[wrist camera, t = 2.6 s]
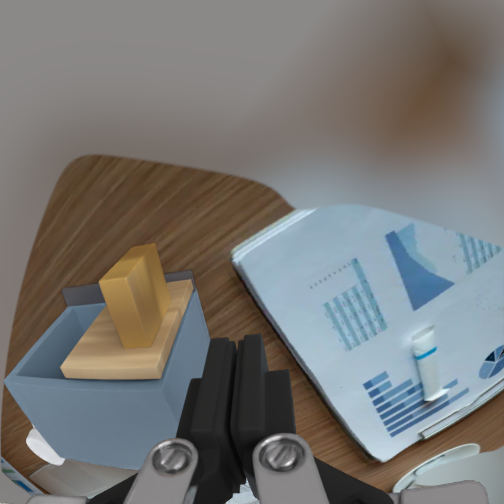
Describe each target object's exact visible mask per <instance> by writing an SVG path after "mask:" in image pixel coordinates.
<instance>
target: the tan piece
mask: <svg viewBox="0 0 504 504" xmlns="http://www.w3.org/2000/svg"><path fill="white" fill-rule="evenodd" d="M99 285H100V288H101V291H102V293H103V296H104V299H105V302H106V304H107V305H106V306H105V307H104V309H103V310H102V311H101V312H100V314H99V315H98V316H97V318H96V319H95V320H94V322H93V323H92V324H91V326H90V327H89V328H88V330H87V331H86V332H85V334H84V335H83V336H82V338H81V339H80V340H79V342H78V343H77V344H76V346H75V347H74V348H73V350H72V351H71V353H70V354H69V355H68V357H67V358H66V360H65V361H64V362H63V364H62V365H61V367H60V369H61V370H62V372H63V374H64V376H65V377H66V378H76V379H160V378H161V376H162V373H163V370H164V367H165V365H166V362H167V359H168V356H169V353H170V350H171V348H172V345H173V342H174V339H175V337H176V334H177V331H178V328H179V326H180V323H181V320H182V318H183V315H184V312H185V310H186V307H187V304H188V302H189V299H190V296H191V294H192V291H193V285H192V281H191V279H189V280H182V281H175V282H167V283H166V281H165V277H164V274H163V270H162V266H161V263H160V259H159V256H158V252H157V248H156V244H155V243H152V244H147V245H141V246H135V247H132V248H131V249H130V250H129V251H128V252H127V253H126V254H125V255H124V256H123V257H122V258H121V259H120V260H119V261H118V262H117V263H116V264H115V265H114V266H113V267H112V268H111V269H110V270H109V271H108V272H107V273H106V274H105V275H104V276H103V277H102V278H101V279H100V280H99Z"/></svg>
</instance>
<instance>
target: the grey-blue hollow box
mask: <svg viewBox="0 0 504 504" xmlns="http://www.w3.org/2000/svg"><path fill="white" fill-rule="evenodd" d="M164 277H165V281H166V283H167V282H175V281H182V280H189V279H191V281H192V285H193V291H192V294H191V296H190V299H189V302H188V304H187V307H186V310H185V312H184V315H183V318H182V320H181V323H180V326H179V328H178V331H177V334H176V337H175V339H174V342H173V345H172V348H171V350H170V353H169V356H168V359H167V362H166V365H165V367H164V370H163V373H162V376H161V378H160V379H76V378H66V377H65V376H64V374H63V372H62V370H61V369H60V367H61V365H62V364H63V362H64V361H65V360H66V358H67V357H68V355H69V354H70V353H71V351H72V350H73V348H74V347H75V346H76V344H77V343H78V342H79V340H80V339H81V338H82V336H83V335H84V334H85V332H86V331H87V330H88V328H89V327H90V326H91V324H92V323H93V322H94V320H95V319H96V318H97V316H98V315H99V314H100V312H101V311H102V310H103V309H104V307H105V306H106V305H107V304H106V302H105V299H104V296H103V293H102V291H101V288H100V285H99V283H95V284H88V285H81V286H74V287H66V288H64V289H63V290H62V293H63V296H64V299H65V301H66V304H67V306H68V307H67V309H66V310H65V311H64V312H63V313H62V314H61V315H60V316H59V317H58V318H57V319H56V321H55V322H54V323H53V324H52V325H51V326H50V327H49V328H48V329H47V331H46V332H45V333H44V334H43V335H42V336H41V337H40V338H39V340H38V341H37V342H36V343H35V344H34V345H33V347H32V348H31V349H30V350H29V351H28V352H27V354H26V355H25V356H24V357H23V358H22V359H21V361H20V362H19V363H18V364H17V365H16V367H15V368H14V369H13V370H12V372H11V373H10V374H9V375H8V376H7V377H6V379H5V380H4V381H3V382H4V383H5V385H6V387H7V388H8V390H9V391H10V393H11V394H12V396H13V397H14V399H15V400H16V402H17V403H18V405H19V406H20V407H21V409H22V410H23V412H24V413H25V414H26V416H27V417H28V419H29V420H30V421H31V423H32V424H33V425H34V427H35V428H36V429H37V430H38V432H39V433H40V434H41V436H42V437H43V438H44V439H45V441H46V442H47V443H48V444H49V445H50V447H51V448H52V449H53V450H54V451H55V452H56V454H57V455H58V456H59V457H62V458H66V459H71V460H76V461H81V462H86V463H92V464H98V465H104V466H110V467H118V468H126V469H134V470H140V469H141V467H142V465H143V463H144V460H145V458H146V456H147V454H148V453H149V451H150V450H151V448H152V447H153V446H155V445H156V444H157V443H159V442H161V441H163V440H166V439H170V438H175V437H176V433H177V429H178V425H179V421H180V417H181V413H182V409H183V406H184V402H185V398H186V394H187V390H188V386H189V383H190V380H191V379H192V378H202V374H203V369H204V365H205V361H206V356H207V352H208V348H209V343H210V336H209V333H208V329H207V325H206V322H205V318H204V315H203V311H202V307H201V303H200V300H199V296H198V292H197V289H196V285H195V281H194V277H193V273H192V270H187V271H180V272H173V273H166V274H164Z"/></svg>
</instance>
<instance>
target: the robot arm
mask: <svg viewBox="0 0 504 504" xmlns="http://www.w3.org/2000/svg"><path fill="white" fill-rule="evenodd" d="M246 478H247V480H248V483H249V485H250V487H251V490H252V492H253V495H254V497H255V498H257V499H258V500H259V501H260V504H489V502H488V495H487V492H486V489H485V487H484V486H483V485H482V484H481V483H479V482H476V481H473V480H465V481H460V482H454V483H449V484H443V485H437V486H430V487H422V488H414V489H405V490H401V492H400V493H385V492H383V491H382V490H380V489H377V488H375V487H373V486H371V485H369V484H366V483H364V482H362V481H360V480H358V479H356V478H354V477H352V476H350V475H348V474H346V473H344V472H342V471H340V470H338V469H336V468H334V467H332V466H330V465H328V464H326V463H325V462H323V461H321V460H319V459H317V458H315V457H314V456H313V454H312V451H311V449H310V446H309V445H308V443H307V441H305V440H304V439H303V438H302V437H300V436H297V435H296V426H295V416H294V406H293V398H292V389H291V382H290V374H289V369H286V370H279V371H271V372H269V370H268V365H267V360H266V354H265V349H264V343H263V338H262V334H252V335H245V336H244V340H239V342H238V351H237V348H236V344H235V342H234V341H229V339H228V338H227V337H226V338H216V339H211V340H210V343H209V348H208V352H207V356H206V361H205V365H204V369H203V374H202V378H192V379H191V380H190V383H189V386H188V390H187V394H186V398H185V402H184V406H183V409H182V413H181V417H180V421H179V425H178V429H177V433H176V437H175V438H170V439H166V440H163V441H161V442H159V443H157V444H156V445H155V446H153V447H152V448H151V450H150V451H149V453H148V454H147V456H146V458H145V460H144V463H143V465H142V467H141V469H140V471H139V472H138V473H136V474H135V475H133V476H131V477H129V478H128V479H126V480H124V481H122V482H121V483H119V484H117V485H115V486H113V487H111V488H110V489H108V490H106V491H104V492H102V493H100V494H98V495H96V496H95V497H94V498H92V499H88V498H87V497H85V496H61V495H48V494H36V495H34V496H32V497H30V499H29V500H28V501H27V503H26V504H226V502H227V501H228V500H230V499H231V498H232V497H233V493H240V485H242V484H246ZM0 504H11V503H3V502H0Z"/></svg>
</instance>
